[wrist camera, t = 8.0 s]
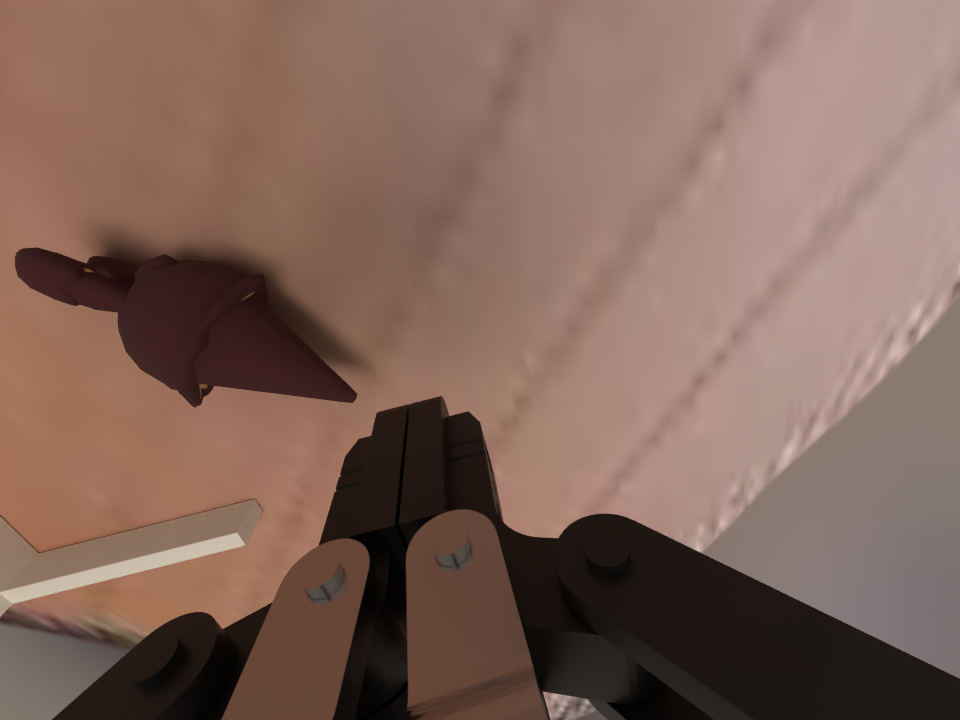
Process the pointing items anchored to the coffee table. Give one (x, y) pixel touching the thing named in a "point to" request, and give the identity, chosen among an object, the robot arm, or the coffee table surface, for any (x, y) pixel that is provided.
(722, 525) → the coffee table surface
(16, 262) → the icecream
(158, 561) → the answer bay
